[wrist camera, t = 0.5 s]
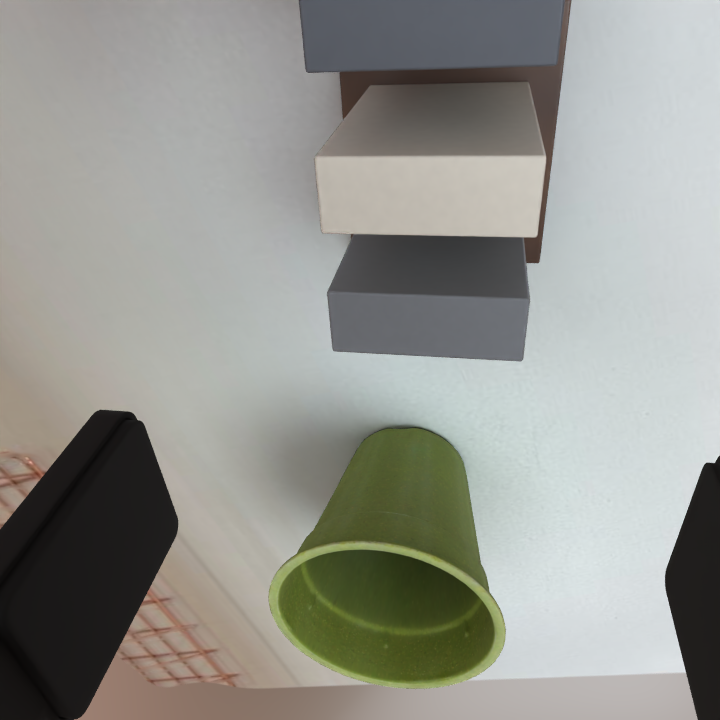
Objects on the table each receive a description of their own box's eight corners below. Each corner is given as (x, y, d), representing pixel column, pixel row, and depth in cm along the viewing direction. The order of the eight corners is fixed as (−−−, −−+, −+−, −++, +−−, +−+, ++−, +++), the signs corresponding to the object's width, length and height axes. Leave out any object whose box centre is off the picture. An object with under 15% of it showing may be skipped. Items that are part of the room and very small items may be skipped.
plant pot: (529, 420, 36) (542, 588, 27) (471, 544, 43) (465, 710, 34) (333, 370, 36) (279, 518, 27) (307, 501, 43) (258, 654, 34)
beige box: (369, 84, 26) (313, 156, 18) (529, 81, 25) (546, 155, 17) (372, 143, 27) (320, 234, 19) (523, 142, 26) (537, 238, 18)
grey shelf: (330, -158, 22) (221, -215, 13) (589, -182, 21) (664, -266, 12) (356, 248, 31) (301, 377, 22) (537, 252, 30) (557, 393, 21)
